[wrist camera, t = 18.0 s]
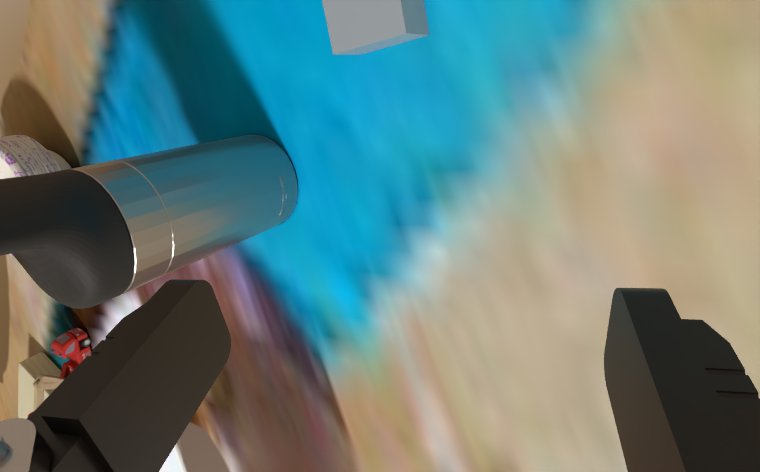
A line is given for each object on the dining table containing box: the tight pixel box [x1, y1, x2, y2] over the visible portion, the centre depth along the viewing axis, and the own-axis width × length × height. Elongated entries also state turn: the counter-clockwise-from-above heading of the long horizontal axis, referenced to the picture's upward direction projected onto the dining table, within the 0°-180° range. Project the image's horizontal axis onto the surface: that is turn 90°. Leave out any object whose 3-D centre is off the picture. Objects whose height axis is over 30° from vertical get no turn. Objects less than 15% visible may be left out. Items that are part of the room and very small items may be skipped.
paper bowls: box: [0, 135, 72, 257], centre depth 62 cm, size 15×15×8 cm
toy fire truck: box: [28, 328, 91, 417], centre depth 74 cm, size 3×14×10 cm, turn 178°
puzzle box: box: [18, 352, 61, 419], centre depth 91 cm, size 36×5×24 cm
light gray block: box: [322, 0, 429, 55], centre depth 35 cm, size 6×4×4 cm, turn 103°
